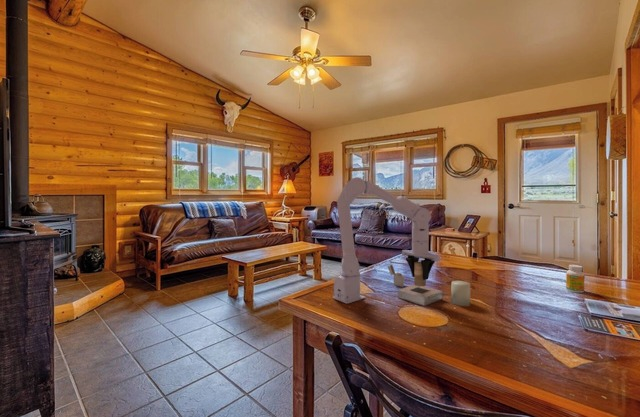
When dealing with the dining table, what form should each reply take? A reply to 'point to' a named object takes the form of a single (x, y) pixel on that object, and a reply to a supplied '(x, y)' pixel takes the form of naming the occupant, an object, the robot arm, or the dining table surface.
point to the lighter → (396, 276)
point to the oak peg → (418, 274)
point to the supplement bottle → (575, 279)
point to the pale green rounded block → (460, 293)
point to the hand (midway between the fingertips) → (420, 277)
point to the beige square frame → (420, 295)
